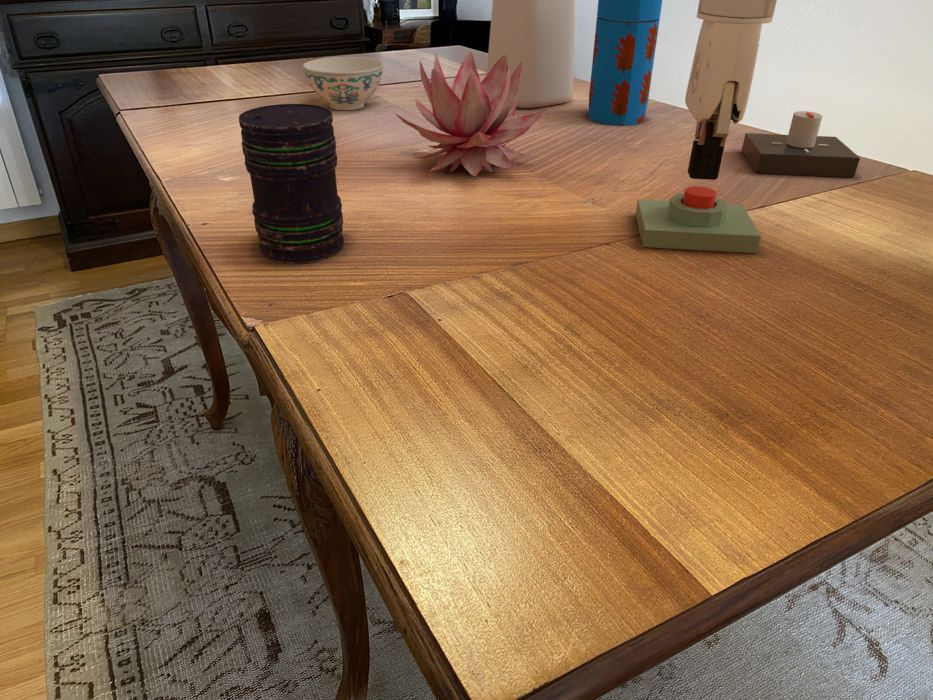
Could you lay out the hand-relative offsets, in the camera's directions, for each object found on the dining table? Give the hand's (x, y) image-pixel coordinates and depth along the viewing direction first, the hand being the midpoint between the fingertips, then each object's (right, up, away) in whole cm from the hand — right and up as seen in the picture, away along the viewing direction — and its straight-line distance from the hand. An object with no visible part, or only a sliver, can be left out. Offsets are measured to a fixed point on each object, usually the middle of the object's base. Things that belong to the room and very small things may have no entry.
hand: (702, 176), depth 82 cm
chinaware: (-51, +27, +55) cm, 80 cm away
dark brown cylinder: (-47, -8, 0) cm, 47 cm away
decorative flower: (-27, +8, +25) cm, 38 cm away
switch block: (0, -6, +4) cm, 7 cm away
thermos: (+1, +23, +50) cm, 55 cm away
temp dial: (+24, +11, +25) cm, 36 cm away
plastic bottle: (-15, +31, +61) cm, 70 cm away
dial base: (+24, +9, +27) cm, 37 cm away
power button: (0, -3, +2) cm, 4 cm away
